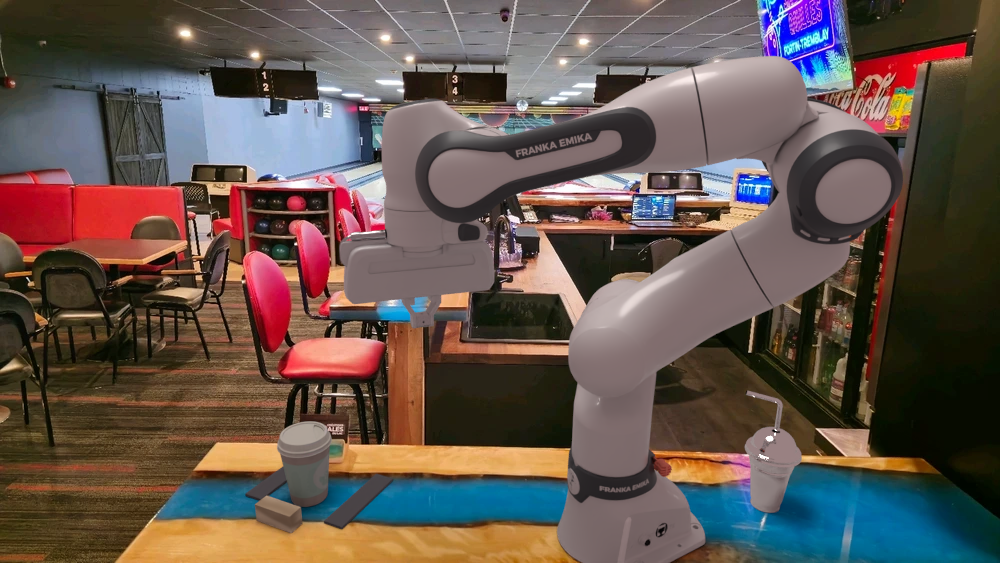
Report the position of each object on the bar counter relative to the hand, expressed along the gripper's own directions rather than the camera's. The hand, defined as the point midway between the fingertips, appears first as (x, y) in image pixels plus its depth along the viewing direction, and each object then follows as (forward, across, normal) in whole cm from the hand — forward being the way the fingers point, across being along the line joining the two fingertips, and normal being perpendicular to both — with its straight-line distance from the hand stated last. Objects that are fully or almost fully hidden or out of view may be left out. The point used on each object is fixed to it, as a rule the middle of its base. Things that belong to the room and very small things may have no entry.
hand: (422, 326), depth 86 cm
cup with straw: (+34, +54, -12) cm, 65 cm away
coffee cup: (+34, -16, +16) cm, 41 cm away
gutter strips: (+34, -15, +18) cm, 41 cm away
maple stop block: (+34, -22, +11) cm, 42 cm away
